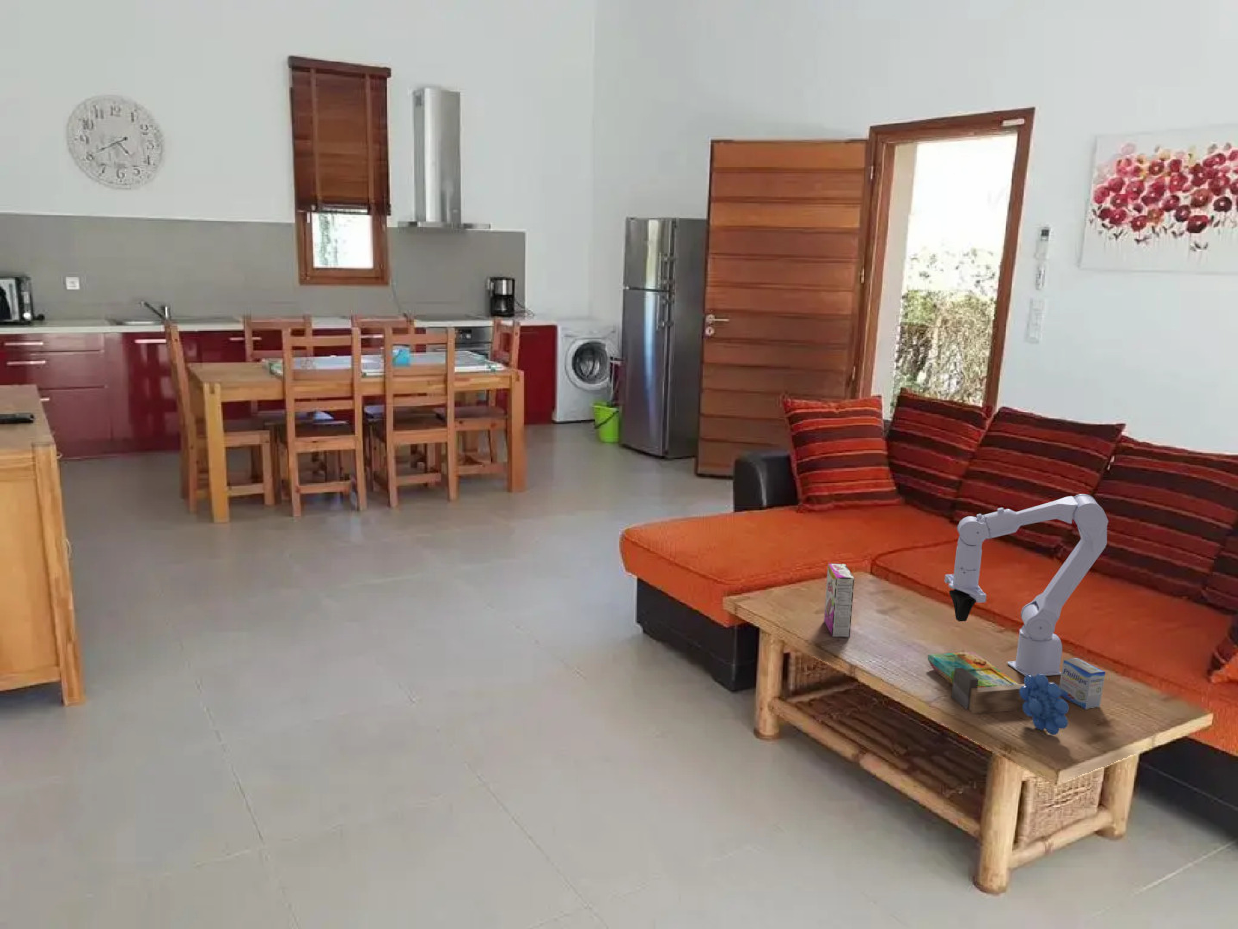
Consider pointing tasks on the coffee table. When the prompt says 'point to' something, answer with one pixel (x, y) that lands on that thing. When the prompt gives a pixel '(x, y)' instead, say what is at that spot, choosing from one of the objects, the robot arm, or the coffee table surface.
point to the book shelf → (984, 694)
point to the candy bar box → (839, 600)
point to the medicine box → (1081, 683)
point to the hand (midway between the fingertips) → (961, 620)
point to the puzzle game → (969, 668)
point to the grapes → (1044, 703)
